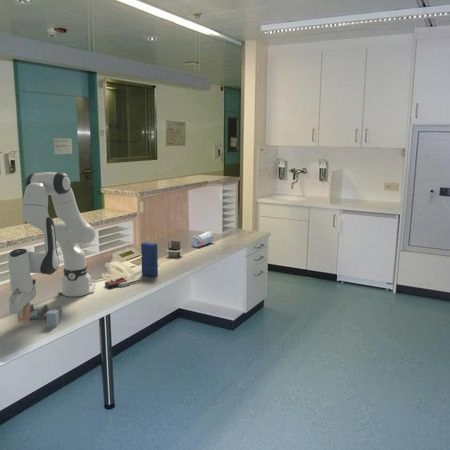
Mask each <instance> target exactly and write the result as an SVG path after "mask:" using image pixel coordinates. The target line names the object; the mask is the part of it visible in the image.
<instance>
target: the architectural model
mask: <svg viewBox="0 0 450 450" xmlns="http://www.w3.org/2000/svg"><path fill="white" fill-rule="evenodd" d="M167 245H168V247H167V249H166V252H168V253H167V254H168V256H167V257H168V258H173V259H177V258H178V257H181V252H182V251H183V248H181V241H178V240H170V242H168V244H167Z"/></svg>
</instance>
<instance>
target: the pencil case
mask: <svg viewBox="0 0 450 450" xmlns="http://www.w3.org/2000/svg"><path fill="white" fill-rule="evenodd" d="M214 237H215V236H214V234H213V232H211V231H206V232H204V233H202V234H199V235H193V236H192V237H191V238H190V244H191V246H192V247H194V248H201V247H202V246H203V247H204V246H206V245H207V244H210V243H212V242H213V241H214V239H215V238H214Z"/></svg>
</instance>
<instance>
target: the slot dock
mask: <svg viewBox="0 0 450 450" xmlns="http://www.w3.org/2000/svg"><path fill="white" fill-rule="evenodd" d="M48 308H49V307H48V304H44V305H43V306H42V307H41V308H40V309H39V308H37V309H34V304H31V303H30V312H31V318H30V319H29V320H38V321H39V320H46V321H47V315H46V313H47V312H48V311H49V310H59V316H60V315H61V314H62V312H63V304H59V305H58V306H57V307H56V308H53V309H48Z"/></svg>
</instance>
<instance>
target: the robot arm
mask: <svg viewBox="0 0 450 450" xmlns="http://www.w3.org/2000/svg"><path fill="white" fill-rule="evenodd" d="M24 185H25V191H24V194H23V197H22V206H21V216H22V217H21V218H22V219H23V220H24V221H25V222H26V223H27V224H28V225H30V226H33V227H35V228H37V229H39V230H40V231H41V232H42V234H43V238H44V240H43V242H44V252H40V251H39V252H38V251H28V250H27V249H26V248H15V249H13V250H11V251H10V252H9V254H8V259H7V260H8V262H7V264H8V272H9V275H10V277H9V284H10V285H9V286H10V291H11V295H10V296H9V299H8V310H9V313H10V314H17V315H18V314H19V317H20V318H22V317H23V316H24V313H23V311H22V310H23V308H24V307H25V306H26V305H27V304H30V305H31V301H32V300H33V299H34V298H35V297H36V295H37V290H36V289H37V287H36V283H37V279H36V278H32V275H31V274H42V275H48V276H50V275H52V274H54V273H55V272H56V271H57V270H59V267H60V261H59V259H60V258H59V255H58V250H57V249H58V248H57V244H58V246H59V248H60V249H61V250H60V251H61V253H62V257H63V266H64V267H63V271H62V272H63V276H62V277H61V285H60V286H61V288H60V290H58V293H59V294H62V295H63V296H66V297H82V296H85V295H89V294H93V293H95V289H96V285H97V284H96V282H92V275H90V274H89V273H88V264H86V263H87V262H86V253H85V252H84V250H83V249H81V247H80V246H79V245H87V244H91V243H93V242H94V240H95V238H96V230H95V228H94V226H93V225H91V224H90V223H88V222H87V221H86V219H85V218H84V217H83V215H82V214H81V212H80V210H79V208H78V207H79V206H78V204H77V201H76V198H75V197H76V196H75V194H74V191H73V188H72V181H71V178H70V176H69V175H68V174H67V173H65V172H56V171H47V172H46V171H45V172H34V173H30V174H28V176H26V179H25V184H24ZM49 196H50V197H51V202H52V204H53V208H54V211H55V214H56V217H57V218H58V219H59V220H60V221H59V222H55V223H54V219H53V218H51V217H50V214H49V210H48V209H49Z"/></svg>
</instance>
